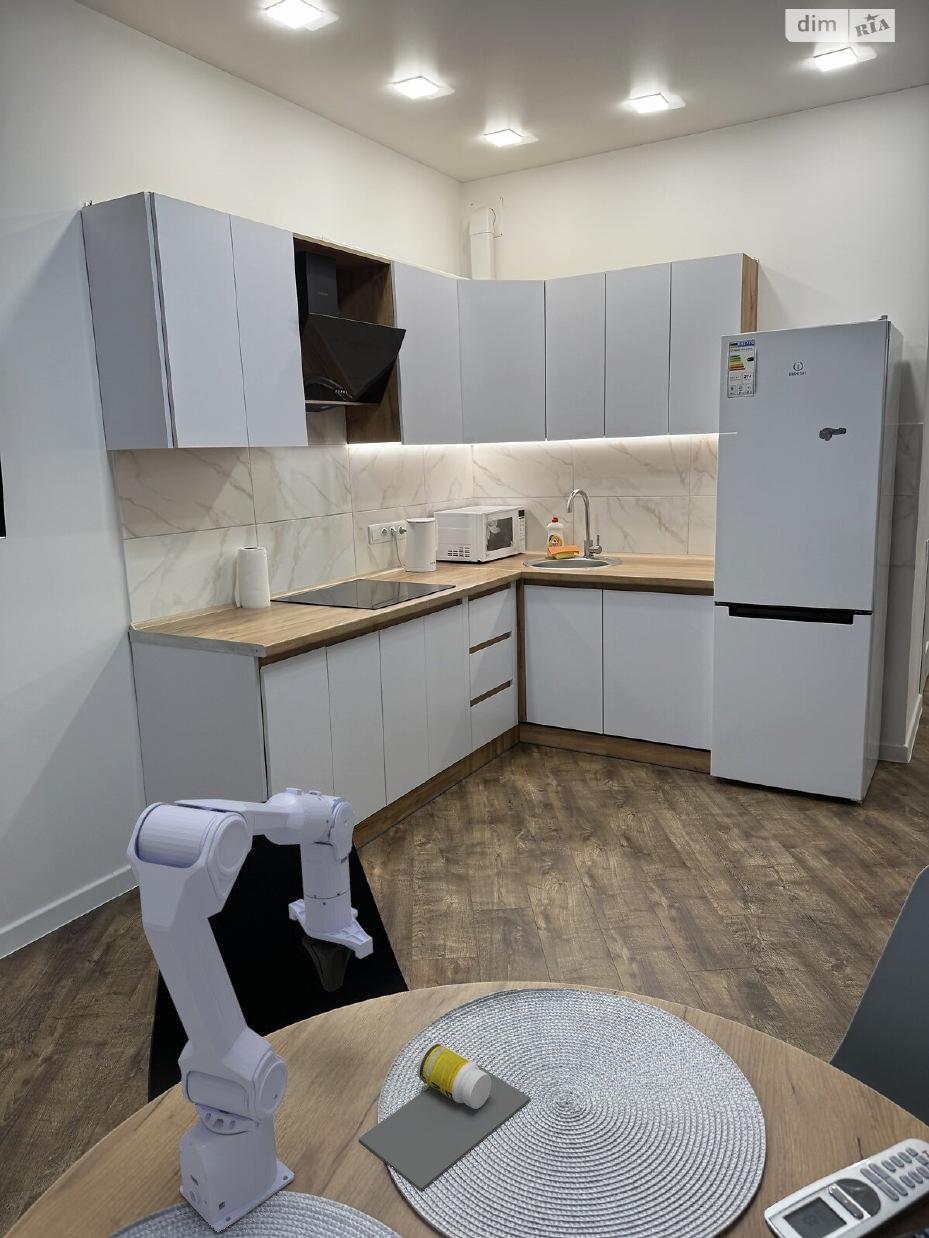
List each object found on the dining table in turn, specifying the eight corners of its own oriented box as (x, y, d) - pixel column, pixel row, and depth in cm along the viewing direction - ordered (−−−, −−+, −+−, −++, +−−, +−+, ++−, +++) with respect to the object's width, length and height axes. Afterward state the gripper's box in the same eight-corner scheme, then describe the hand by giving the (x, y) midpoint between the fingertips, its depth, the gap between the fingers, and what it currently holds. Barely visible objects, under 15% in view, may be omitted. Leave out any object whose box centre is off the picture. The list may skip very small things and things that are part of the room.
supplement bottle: (410, 1078, 107) (462, 1110, 102) (425, 1038, 109) (477, 1068, 103) (432, 1082, 111) (484, 1113, 105) (447, 1044, 112) (499, 1073, 107)
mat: (421, 1191, 94) (421, 1188, 94) (358, 1141, 101) (358, 1138, 101) (530, 1100, 106) (530, 1097, 106) (468, 1061, 114) (468, 1058, 114)
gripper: (389, 894, 108) (394, 995, 111) (317, 859, 118) (323, 952, 121) (343, 917, 103) (350, 1022, 106) (272, 878, 113) (279, 975, 116)
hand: (333, 986), depth 113 cm, fingers closed
